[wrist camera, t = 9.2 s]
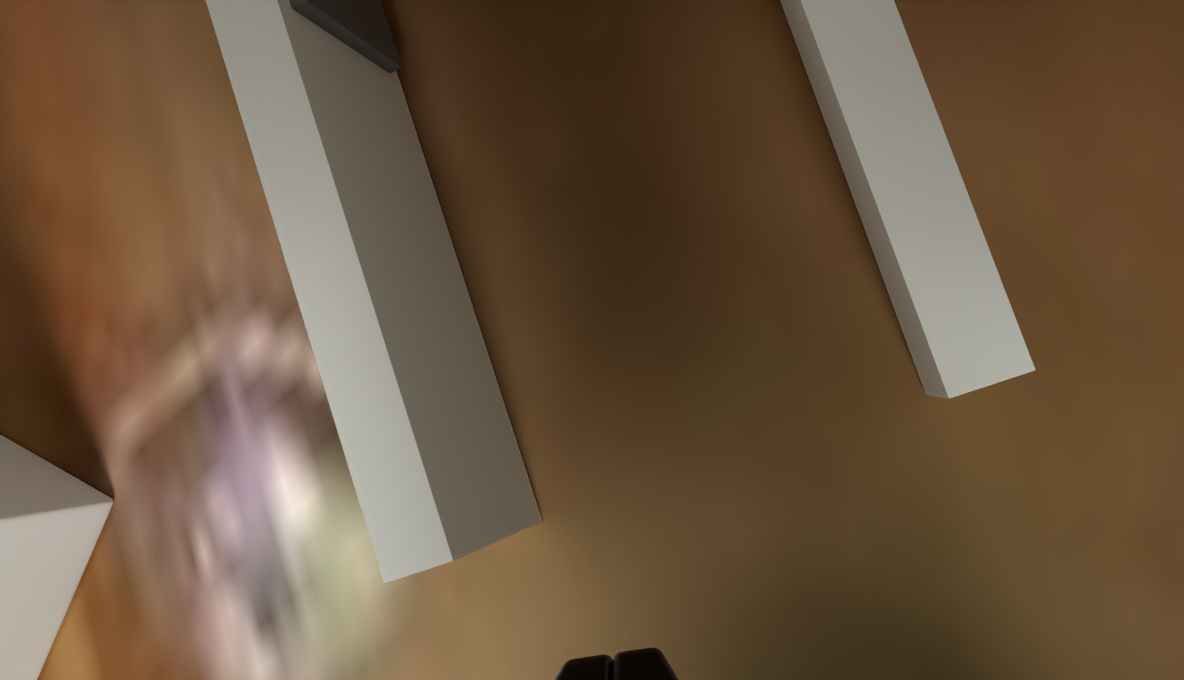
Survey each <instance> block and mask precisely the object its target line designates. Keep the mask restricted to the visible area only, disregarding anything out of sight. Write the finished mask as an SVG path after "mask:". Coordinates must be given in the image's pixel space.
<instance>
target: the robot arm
mask: <svg viewBox="0 0 1184 680" xmlns="http://www.w3.org/2000/svg"><path fill="white" fill-rule="evenodd" d="M555 680H678V678H677V677H676V675H675V673H674V672H673V670H672V668H671V666H670V665H669V663H668V661H667V660H666V658H665V656H664V655H663V653H662V652H661V651H660V650H659V649H657V648H645V649H638V650H631V651H625V652H620V653H618V654H617V655H615V658H614V660H613V659H612V658H611V657H610V656H608V655H597V656H590V657H584V658H577V659H572V660H569V661H567V662H566V663H565V664H564V666H563V667H562V668H561V670H560V672H559V674H558V675H557V677H556V679H555Z"/></svg>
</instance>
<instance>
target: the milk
mask: <svg viewBox="0 0 1184 680" xmlns="http://www.w3.org/2000/svg"><path fill="white" fill-rule="evenodd" d="M112 505H113V500H112V498H110V497H108V496H107V495H105V494H103V493H101V492H100V491H98V490H96V489H95V488H93V487H91V486H89V485H88V484H86V483H84V482H82V481H81V480H79V479H77V478H75V477H74V476H72V475H70V474H68V473H67V472H65V471H63V470H61V469H60V468H58V467H56V466H55V465H53V464H51V463H49V462H48V461H46V460H44V459H42V458H41V457H39V456H37V455H35V454H34V453H32V452H30V451H28V450H27V449H25V448H23V447H21V446H20V445H18V444H16V443H15V442H13V441H11V440H9V439H8V438H6V437H4V436H2V435H1V434H0V680H37V679H38V677H39V675H40V672H41V670H42V668H43V665H44V663H45V661H46V658H47V656H48V654H49V651H50V649H51V647H52V644H53V642H54V640H55V638H56V635H57V633H58V631H59V628H60V626H61V624H62V621H63V619H64V617H65V614H66V612H67V610H68V607H69V605H70V603H71V600H72V598H73V596H74V593H75V591H76V589H77V586H78V584H79V582H80V580H81V577H82V575H83V573H84V570H85V568H86V566H87V563H88V561H89V559H90V556H91V554H92V552H93V549H94V547H95V545H96V542H97V540H98V538H99V535H100V533H101V531H102V528H103V526H104V524H105V522H106V519H107V517H108V515H109V512H110V510H111V507H112Z"/></svg>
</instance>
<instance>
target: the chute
mask: <svg viewBox="0 0 1184 680" xmlns="http://www.w3.org/2000/svg"><path fill="white" fill-rule="evenodd" d="M780 2H781V5H782V7H783V10H784V13H785V15H786V18H787V21H788V24H789V26H790V29H791V32H792V34H793V37H794V40H795V42H796V45H797V48H798V51H799V53H800V56H801V59H802V61H803V64H804V67H805V69H806V72H807V75H808V78H809V80H810V83H811V86H812V88H813V91H814V94H815V97H816V99H817V102H818V105H819V107H820V110H821V113H822V115H823V118H824V121H825V124H826V126H827V129H828V132H829V134H830V137H831V140H832V142H833V145H834V148H835V151H836V153H837V156H838V159H839V161H840V164H841V167H842V170H843V172H844V175H845V178H846V180H847V183H848V186H849V188H850V191H851V194H852V197H853V199H854V202H855V205H856V207H857V210H858V213H859V215H860V218H861V221H862V224H863V226H864V229H865V232H866V234H867V237H868V240H869V242H870V245H871V248H872V251H873V253H874V256H875V259H876V261H877V264H878V267H879V270H880V272H881V275H882V278H883V280H884V283H885V286H886V288H887V291H888V294H889V297H890V299H891V302H892V305H893V307H894V310H895V313H896V315H897V318H898V321H899V324H900V326H901V329H902V332H903V334H904V337H905V340H906V343H907V345H908V348H909V351H910V353H911V356H912V359H913V361H914V364H915V367H916V370H917V372H918V375H919V378H920V380H921V383H922V386H923V388H924V391H925V394H926V395H930V396H936V397H942V398H948V399H949V398H952V397H955V396H958V395H961V394H965V393H968V392H971V391H974V390H977V389H980V388H983V387H986V386H989V385H992V384H995V383H998V382H1001V381H1004V380H1007V379H1010V378H1013V377H1016V376H1020V375H1023V374H1026V373H1029V372H1032V371H1035V368H1034V365H1033V362H1032V360H1031V357H1030V355H1029V352H1028V349H1027V347H1026V344H1025V342H1024V339H1023V336H1022V334H1021V331H1020V328H1019V326H1018V323H1017V321H1016V318H1015V315H1014V313H1013V310H1012V308H1011V305H1010V302H1009V300H1008V297H1007V294H1006V292H1005V289H1004V287H1003V284H1002V281H1001V279H1000V276H999V274H998V271H997V268H996V266H995V263H994V261H993V258H992V255H991V253H990V250H989V247H988V245H987V242H986V240H985V237H984V234H983V232H982V229H981V227H980V224H979V221H978V219H977V216H976V213H975V211H974V208H973V206H972V203H971V200H970V198H969V195H968V193H967V190H966V187H965V185H964V182H963V179H962V177H961V174H960V172H959V169H958V166H957V164H956V161H955V159H954V156H953V153H952V151H951V148H950V146H949V143H948V140H947V138H946V135H945V132H944V130H943V127H942V125H941V122H940V119H939V117H938V114H937V112H936V109H935V106H934V104H933V101H932V98H931V96H930V93H929V91H928V88H927V85H926V83H925V80H924V78H923V75H922V72H921V70H920V67H919V64H918V62H917V59H916V57H915V54H914V51H913V49H912V46H911V44H910V41H909V38H908V36H907V33H906V31H905V28H904V25H903V23H902V20H901V17H900V15H899V12H898V10H897V7H896V4H895V2H894V0H780ZM206 3H207V6H208V9H209V13H210V16H211V19H212V23H213V26H214V29H215V32H216V36H217V39H218V42H219V45H220V49H221V52H222V55H223V58H224V62H225V65H226V68H227V72H228V75H229V78H230V81H231V85H232V88H233V91H234V94H235V98H236V101H237V104H238V107H239V111H240V114H241V117H242V121H243V124H244V127H245V130H246V134H247V137H248V140H249V143H250V147H251V150H252V153H253V156H254V160H255V163H256V166H257V170H258V173H259V176H260V179H261V183H262V186H263V189H264V192H265V196H266V199H267V202H268V205H269V209H270V212H271V215H272V219H273V222H274V225H275V228H276V232H277V235H278V238H279V241H280V245H281V248H282V251H283V254H284V258H285V261H286V264H287V268H288V271H289V274H290V277H291V281H292V284H293V287H294V290H295V294H296V297H297V300H298V303H299V307H300V310H301V313H302V317H303V320H304V323H305V326H306V330H307V333H308V336H309V339H310V343H311V346H312V349H313V352H314V356H315V359H316V362H317V366H318V369H319V372H320V375H321V379H322V382H323V385H324V388H325V392H326V395H327V398H328V401H329V405H330V408H331V411H332V415H333V418H334V421H335V424H336V428H337V431H338V434H339V437H340V441H341V444H342V447H343V450H344V454H345V457H346V460H347V464H348V467H349V470H350V473H351V477H352V480H353V483H354V486H355V490H356V493H357V496H358V499H359V503H360V506H361V509H362V513H363V516H364V519H365V522H366V526H367V529H368V532H369V535H370V539H371V542H372V545H373V548H374V552H375V555H376V558H377V562H378V565H379V568H380V571H381V575H382V578H383V581H384V583H387V582H390V581H393V580H396V579H399V578H402V577H405V576H408V575H411V574H415V573H418V572H421V571H424V570H427V569H430V568H433V567H436V566H439V565H442V564H445V563H448V562H451V561H454V560H456V559H458V558H461V557H463V556H465V555H467V554H470V553H472V552H474V551H476V550H479V549H481V548H483V547H485V546H488V545H490V544H492V543H494V542H497V541H499V540H501V539H503V538H506V537H508V536H510V535H512V534H515V533H517V532H519V531H521V530H524V529H526V528H528V527H530V526H533V525H535V524H537V523H539V522H541V521H542V518H541V515H540V512H539V509H538V506H537V502H536V499H535V496H534V493H533V490H532V487H531V484H530V481H529V478H528V475H527V472H526V469H525V466H524V462H523V459H522V456H521V453H520V450H519V447H518V444H517V441H516V438H515V435H514V432H513V429H512V425H511V422H510V419H509V416H508V413H507V410H506V407H505V404H504V401H503V398H502V395H501V392H500V389H499V385H498V382H497V379H496V376H495V373H494V370H493V367H492V364H491V361H490V358H489V355H488V352H487V348H486V345H485V342H484V339H483V336H482V333H481V330H480V327H479V324H478V321H477V318H476V315H475V312H474V308H473V305H472V302H471V299H470V296H469V293H468V290H467V287H466V284H465V281H464V278H463V275H462V272H461V268H460V265H459V262H458V259H457V256H456V253H455V250H454V247H453V244H452V241H451V238H450V235H449V231H448V228H447V225H446V222H445V219H444V216H443V213H442V210H441V207H440V204H439V201H438V198H437V195H436V191H435V188H434V185H433V182H432V179H431V176H430V173H429V170H428V167H427V164H426V161H425V158H424V154H423V151H422V148H421V145H420V142H419V139H418V136H417V133H416V130H415V127H414V124H413V121H412V118H411V114H410V111H409V108H408V105H407V102H406V99H405V96H404V93H403V90H402V87H401V84H400V81H399V78H398V74H397V71H396V70H399V69H401V68H402V64H401V61H400V58H399V55H398V52H397V49H396V46H395V43H394V40H393V37H392V34H391V31H390V28H389V25H388V21H387V18H386V15H385V12H384V9H383V6H382V3H381V0H206Z"/></svg>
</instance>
